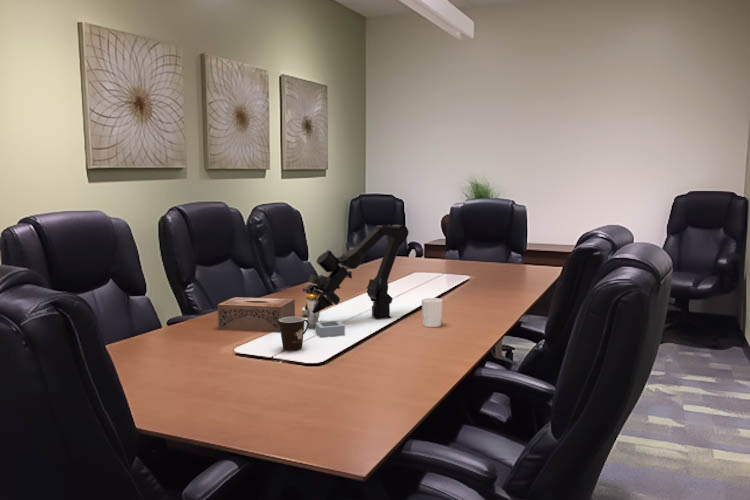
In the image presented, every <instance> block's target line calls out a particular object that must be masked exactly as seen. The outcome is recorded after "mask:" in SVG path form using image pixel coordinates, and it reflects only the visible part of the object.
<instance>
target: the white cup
mask: <svg viewBox="0 0 750 500" xmlns="http://www.w3.org/2000/svg"><path fill="white" fill-rule="evenodd" d="M421 311H422V312H421V313H422V314H421V315H422V325H423V327H426V328H438V327H441V325H442V324H441V323H442V313H443V312H442V311H443V299H442V298H438V297H426V298H422V299H421Z"/></svg>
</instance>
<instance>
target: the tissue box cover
mask: <svg viewBox="0 0 750 500" xmlns="http://www.w3.org/2000/svg"><path fill="white" fill-rule="evenodd" d="M295 302H296V301H295V298H271V297H270V298H269V297H264V298H263V297H242V296H241V297H236V296H235V297H232V298H230V299H227V300H225V301H222V302H220V303H218V304H217V321H218V330H220V331H221V330H224V331H225V330H227V331H244V332H247V331H249V332H266V333H267V332H270V333H271V332H272V333H281V331H280V325H279V319H281V318H285V317H296V311H295V310H296V308H295V304H296V303H295Z"/></svg>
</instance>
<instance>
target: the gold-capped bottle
mask: <svg viewBox="0 0 750 500" xmlns="http://www.w3.org/2000/svg"><path fill="white" fill-rule="evenodd" d="M305 298H306V301H307V302H306V304H307V310H308V316H307V320H308V322H309V327H308V329H309V328H315V322H319V316H318V312H317V313H315V314H314V313H313V312H312V311H313V309H314V308H315V306H316V305H317V303H318V294H317V293H309V294H307V293H306V297H305Z"/></svg>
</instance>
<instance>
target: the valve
mask: <svg viewBox="0 0 750 500" xmlns="http://www.w3.org/2000/svg"><path fill="white" fill-rule="evenodd" d="M307 287H308V286H306V287H302V292H303V293H304V292H305V293H306V294H309V291H308V289H307ZM305 307H306V306H303V307H302V309H301V315H302V316H303V317H308V310H306V309H305ZM320 311H321V310H320ZM320 311H319V312H318V317H319V316H320Z"/></svg>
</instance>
